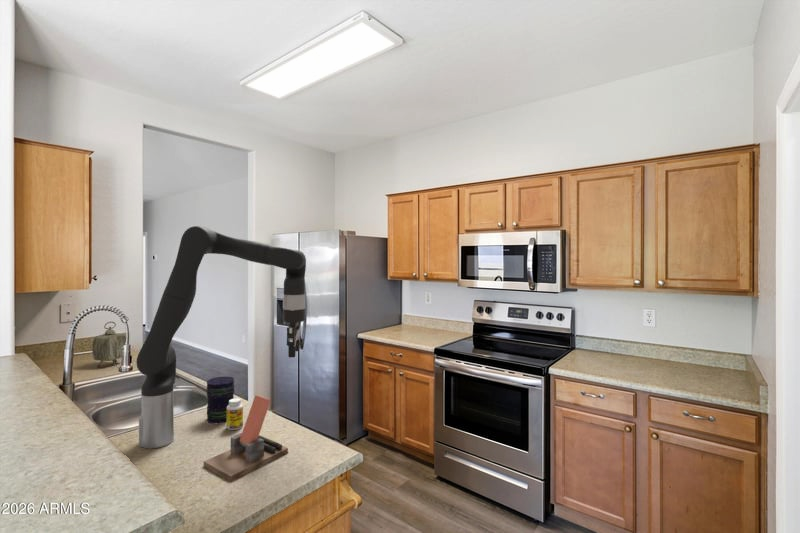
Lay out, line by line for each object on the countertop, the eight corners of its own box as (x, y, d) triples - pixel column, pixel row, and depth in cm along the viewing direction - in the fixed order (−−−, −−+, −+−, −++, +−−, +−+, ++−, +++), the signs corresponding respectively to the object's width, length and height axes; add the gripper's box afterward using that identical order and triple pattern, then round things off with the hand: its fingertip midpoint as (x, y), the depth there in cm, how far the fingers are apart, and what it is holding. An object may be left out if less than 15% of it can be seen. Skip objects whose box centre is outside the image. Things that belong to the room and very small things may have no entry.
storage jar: (207, 415, 158) (206, 378, 157) (234, 411, 162) (233, 375, 162) (206, 425, 149) (206, 385, 148) (235, 421, 153) (234, 382, 153)
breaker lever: (244, 444, 126) (261, 396, 131) (254, 449, 123) (270, 399, 128) (238, 444, 124) (255, 395, 129) (247, 448, 122) (265, 398, 126)
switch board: (260, 441, 137) (260, 422, 136) (287, 452, 129) (287, 432, 128) (203, 466, 120) (203, 444, 120) (231, 481, 112) (230, 458, 112)
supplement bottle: (228, 432, 143) (228, 403, 143) (225, 426, 148) (225, 399, 148) (244, 428, 146) (244, 400, 146) (241, 423, 151) (241, 396, 151)
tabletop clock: (115, 361, 237) (115, 319, 236) (128, 362, 235) (128, 320, 234) (92, 368, 222) (91, 323, 222) (106, 369, 221) (105, 324, 220)
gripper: (286, 305, 145) (286, 349, 145) (278, 310, 131) (278, 359, 131) (307, 304, 146) (307, 349, 146) (302, 310, 132) (302, 359, 132)
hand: (294, 354), depth 139 cm, fingers open, 8 cm apart
